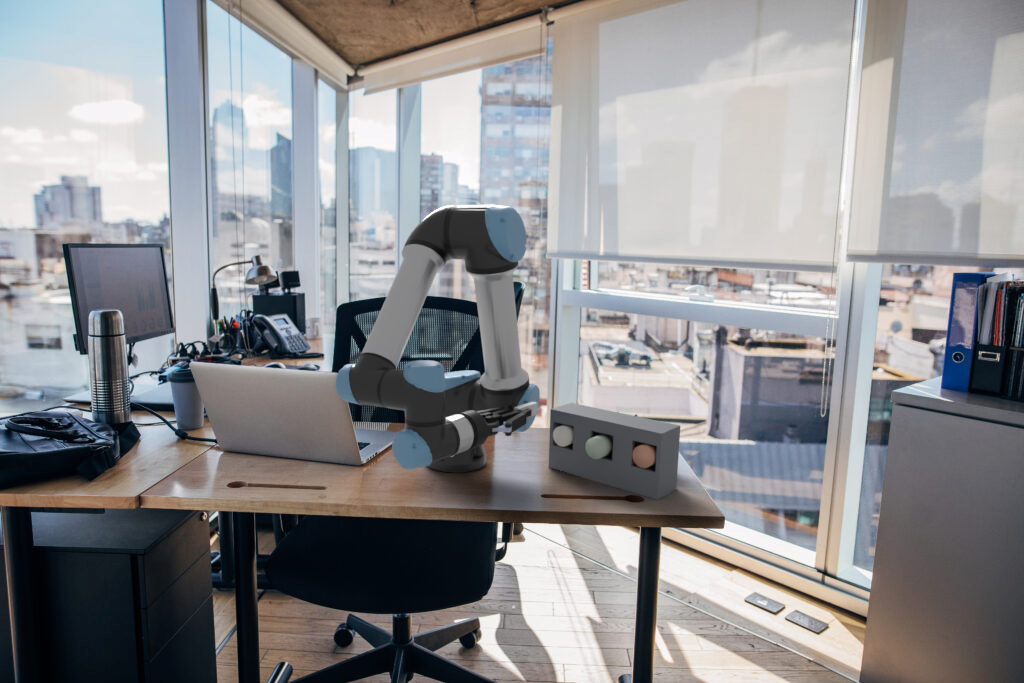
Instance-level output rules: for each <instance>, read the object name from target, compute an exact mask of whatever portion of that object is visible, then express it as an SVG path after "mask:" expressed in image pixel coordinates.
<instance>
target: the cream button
mask: <svg viewBox="0 0 1024 683" xmlns="http://www.w3.org/2000/svg"><path fill="white" fill-rule="evenodd" d="M573 430H574V426H570V425H562V426H559V427H556V428H555V430H554V432H553V438H554V441H555V442H556V444H557V445H559V446H561V447H565V446H567V445H570V444H573Z"/></svg>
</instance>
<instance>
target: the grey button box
mask: <svg viewBox="0 0 1024 683" xmlns="http://www.w3.org/2000/svg"><path fill="white" fill-rule="evenodd" d="M608 410H609V409H604V408H603V409H602V408H599V407H593V406H588V405H584V404H580V403H574V402H570V403H567V404H563V405H560V406H556V407H553V408H550V413H549V414H550V415H549V418H550V420H549V444H548V445H549V447H548V448H549V449H548V451H549V452H548V468H549V467H550V468H549V469H552V468H553V469H552V470H555V469H557V470H556V471H558V470H560V471H559V472H562V471H564V472H563V473H565V472H567V473H566V474H569V473H570V474H569V475H572V474H574V475H573V476H575V475H577V476H576V477H579V476H580V477H579V478H582V477H583V479H585V480H586V479H587V480H589V481H593V482H596V483H600V484H603V485H606V486H610V487H613V488H618V489H620V490H624V491H627V492H631V493H634V494H636V495H637V494H638V495H641V496H644V497H647V498H651V499H655V500H657V501H658V500H660V499H662V498H663V497H665V496H667V495H668V494H670V493H672V492H674V491H675V490H677V486H678V485H677V483H678V469H679V455H680V454H679V452H680V440H681V439H680V436H681V425H679V424H675V423H671V422H666V421H660V420H656V419H650V418H646V417H641V416H638V415H637V416H632V415H627V414H623V413H620V412H619V411H617V412H613V411H614V410H610V411H608ZM618 412H619V413H618ZM562 425H570V426H574V430H573V444H570V445H567V446H565V447H561V446H559V445H557V444H556V442H555V441H554V438H553V432H554V430H555V428H556V427H559V426H562ZM600 434H605V435H607V436H608V437H610V439H611V440H612V443H613V450H612V452H611V453H610V454H609V455H607V456H604V457H602V458H600V459H593V458H591V457H590V456H589V455H588V454H587V452H586V448H585V445H586V442H587V440H588V439H590V438H592V437H595V436H598V435H600ZM644 443H646V444H650V445H654V446H657V453H656V463H655V464H653V465H651V466H649V467H647V468H641V467H639V466H637V465H636V464H635V462H634V460H633V457H632V454H633V450H634V449H635V448H636V447H637V446H640V445H642V444H644Z"/></svg>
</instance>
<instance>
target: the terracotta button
mask: <svg viewBox="0 0 1024 683" xmlns="http://www.w3.org/2000/svg"><path fill="white" fill-rule="evenodd" d="M656 453H657V446H654V445H650V444H646V443H644V444H642V445H640V446H637V447H636V448H635V449H634V450H633V454H632V457H633V460H634V462H635V464H636V465H637V466H639V467H641V468H647V467H649V466H651V465H653V464H655V463H656Z"/></svg>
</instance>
